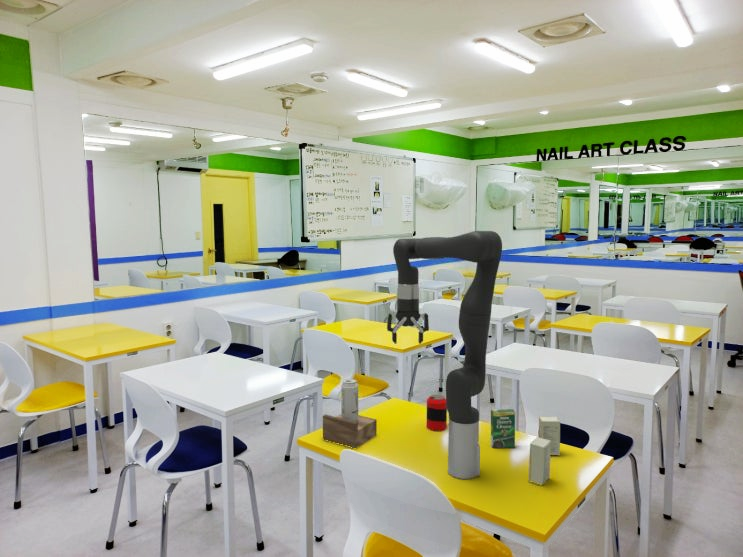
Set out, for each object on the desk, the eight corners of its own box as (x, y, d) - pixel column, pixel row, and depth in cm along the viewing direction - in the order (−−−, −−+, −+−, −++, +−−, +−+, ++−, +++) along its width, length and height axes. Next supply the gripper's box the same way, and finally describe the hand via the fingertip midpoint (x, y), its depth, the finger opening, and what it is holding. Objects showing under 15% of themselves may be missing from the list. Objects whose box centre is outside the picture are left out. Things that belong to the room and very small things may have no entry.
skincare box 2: (536, 474, 159) (537, 436, 158) (550, 478, 156) (551, 440, 155) (527, 482, 154) (529, 443, 153) (542, 486, 152) (543, 447, 150)
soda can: (422, 426, 198) (423, 395, 196) (438, 422, 201) (439, 392, 200) (434, 432, 191) (434, 401, 190) (450, 429, 194) (451, 398, 193)
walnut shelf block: (345, 427, 196) (345, 404, 195) (376, 435, 189) (376, 411, 188) (322, 440, 184) (322, 415, 183) (355, 449, 177) (355, 423, 176)
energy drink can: (356, 425, 183) (356, 384, 181) (339, 423, 184) (339, 383, 182) (359, 418, 189) (359, 379, 187) (343, 417, 190) (343, 378, 188)
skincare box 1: (556, 451, 176) (558, 416, 174) (560, 456, 171) (561, 421, 170) (537, 450, 176) (538, 415, 175) (540, 455, 172) (541, 420, 171)
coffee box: (491, 448, 178) (492, 411, 176) (489, 445, 180) (490, 408, 179) (515, 448, 178) (516, 411, 176) (512, 445, 181) (513, 408, 179)
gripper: (388, 298, 172) (388, 345, 174) (430, 298, 173) (429, 345, 174) (386, 295, 180) (386, 341, 181) (427, 295, 180) (426, 340, 182)
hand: (407, 343), depth 178 cm, fingers open, 8 cm apart
